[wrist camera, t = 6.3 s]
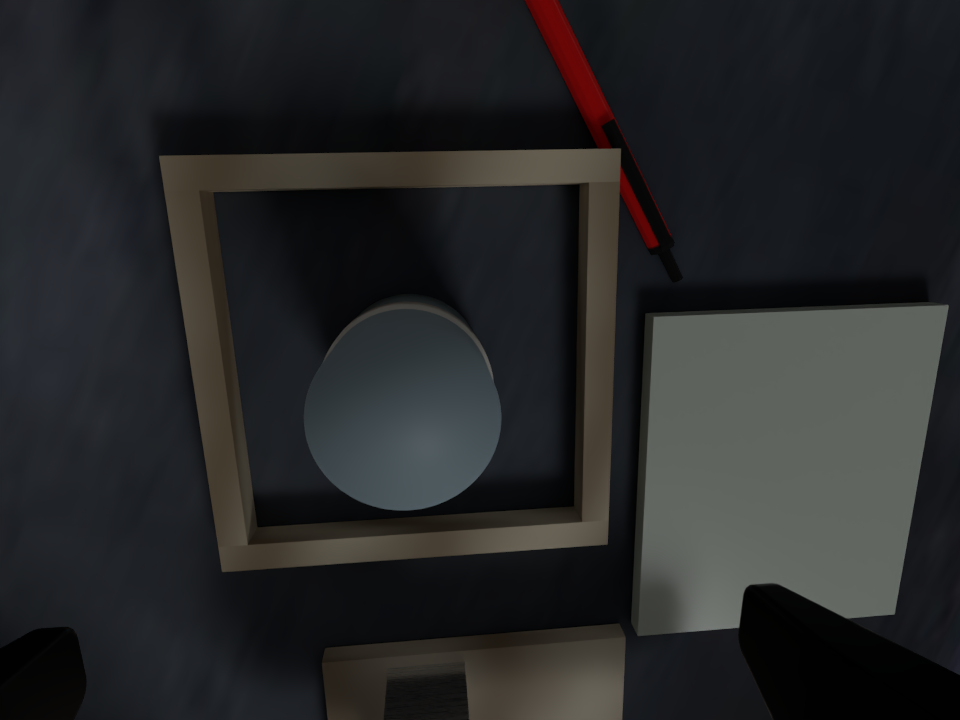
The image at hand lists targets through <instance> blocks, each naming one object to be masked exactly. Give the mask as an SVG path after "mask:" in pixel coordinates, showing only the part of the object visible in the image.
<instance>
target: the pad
mask: <svg viewBox="0 0 960 720" xmlns="http://www.w3.org/2000/svg"><path fill="white" fill-rule="evenodd" d="M948 307H949V305H945V304H939V303H933V302H918V303H892V304H867V305H841V306H816V307H791V308H765V309H740V310H714V311H689V312H663V313H645V333H644V354H643V376H642V397H641V419H640V440H639V462H638V483H637V505H636V526H635V548H634V569H633V591H632V612H631V623H632V625H633V627H634V629H635V631H636V633H637V635H638V636H645V635H656V634H668V633H680V632H692V631H703V630H715V629H727V628H739V624H740V616H741V608H742V600H743V594H744V591H745V589H746V587H747V586H749V585H751V584H765V583H776V584H779V585H781V586H783V587H785V588H787V589H789V590H791V591H793V592H795V593H797V594H799V595H801V596H803V597H805V598H807V599H809V600H811V601H813V602H815V603H817V604H819V605H821V606H823V607H825V608H827V609H829V610H831V611H833V612H835V613H837V614H839V615H841V616H843V617H845V618H856V617H868V616H880V615H892V614H895V608H896V602H897V597H898V591H899V585H900V580H901V574H902V568H903V563H904V557H905V551H906V545H907V540H908V534H909V528H910V523H911V517H912V511H913V506H914V500H915V494H916V489H917V483H918V477H919V472H920V466H921V460H922V454H923V449H924V443H925V437H926V432H927V426H928V420H929V415H930V409H931V403H932V398H933V392H934V386H935V381H936V375H937V369H938V363H939V358H940V352H941V346H942V341H943V335H944V329H945V324H946V318H947V312H948Z"/></svg>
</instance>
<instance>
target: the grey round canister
mask: <svg viewBox="0 0 960 720" xmlns="http://www.w3.org/2000/svg"><path fill="white" fill-rule="evenodd" d="M304 429H305V434H306V439H307V443H308V446H309V449H310V451H311V453H312V456H313V458H314V460H315V462H316V463H317V465H318V466H319V468H320V469H321V471H322V472H323V473H324V474H325V476H326V477H327V478H328V479H329V480H330V481H331V482H332V483H333V484H334V485H335V486H336V487H338V488H339V489H340V490H341V491H343V492H344V493H346V494H347V495H349V496H350V497H352V498H354V499H356V500H358V501H360V502H362V503H365V504H368V505H371V506H374V507H378V508H382V509H389V510H416V509H423V508H427V507H431V506H435V505H437V504H440V503H443V502H445V501H447V500H449V499H451V498H453V497H455V496H456V495H458V494H459V493H461V492H462V491H464V490H465V489H466V488H468V487H469V486H470V485H471V484H472V483H473V482H474V481H475V480H476V479H477V478H478V477H479V476H480V475H481V473H482V472H483V471H484V469H485V468H486V466H487V465H488V463H489V462H490V460H491V458H492V456H493V454H494V452H495V449H496V446H497V443H498V440H499V435H500V429H501V407H500V401H499V396H498V392H497V390H496V387H495V384H494V382H493V374H492V370H491V366H490V363H489V361H488V358H487V355H486V353H485V351H484V349H483V347H482V345H481V343H480V341H479V340H478V338H477V337H476V335H475V334H474V333H473V331H472V329H471V327H470V326H469V324H468V323H467V321H466V320H465V319H464V318H463V317H462V316H461V315H460V314H459V313H458V312H457V311H456V310H455V309H453V308H452V307H451V306H449V305H447V304H446V303H444V302H442V301H440V300H438V299H435V298H432V297H429V296H426V295H419V294H400V295H394V296H390V297H387V298H384V299H381V300H379V301H377V302H375V303H373V304H371V305H370V306H369V307H367V308H366V309H364V310H363V311H362V312H361V313H360V314H359V315H358V316H357V317H356V318H355V319H354V320H353V321H352V322H350V323H349V324H348V325H347V326H346V327H345V328H344V329H343V331H342V332H341V333H340V334H339V336H338V337H337V338H336V339H335V341H334V342H333V344H332V345H331V347H330V349H329V350H328V352H327V354H326V357H325V359H324V361H323V363H322V365H321V366H320V368H319V369H318V371H317V373H316V374H315V376H314V378H313V380H312V382H311V385H310V387H309V390H308V393H307V397H306V401H305V408H304Z"/></svg>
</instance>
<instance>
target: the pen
mask: <svg viewBox="0 0 960 720" xmlns="http://www.w3.org/2000/svg"><path fill="white" fill-rule="evenodd" d="M525 2H526V4H527V6H528V8H529V10H530V12H531V14H532V16H533V18H534V20H535V22H536V24H537V26H538V28H539V30H540V32H541V34H542V36H543V38H544V40H545V42H546V44H547V46H548V48H549V50H550V52H551V54H552V56H553V58H554V60H555V62H556V64H557V66H558V68H559V71H560V73H561V75H562V77H563V79H564V81H565V83H566V85H567V87H568V89H569V91H570V93H571V95H572V97H573V99H574V101H575V103H576V105H577V107H578V109H579V111H580V113H581V115H582V117H583V119H584V121H585V123H586V125H587V127H588V129H589V131H590V133H591V135H592V137H593V139H594V141H595V143H596V145H597V147H598V149H621V165H620V193H621V195H622V197H623V199H624V201H625V203H626V206H627V208H628V210H629V212H630V214H631V216H632V218H633V220H634V222H635V224H636V226H637V228H638V230H639V232H640V234H641V236H642V238H643V240H644V242H645V244H646V246H647V248H648V250H649V252H650V254H651V255H655V254H659V256H660V258H661V260H662V262H663V264H664V266H665V268H666V270H667V272H668V274H669V276H670V278H671V280H672V282H677V281H679V280H681V279H682V278H683V277H682V275H681V272H680V270H679V268H678V266H677V264H676V262H675V260H674V258H673V256H672V254H671V251H670V248H672V247H673V246H674V243H675V242H674V240H673V238H672V236H671V234H670V232H669V230H668V228H667V226H666V224H665V222H664V220H663V217H662V215H661V213H660V211H659V209H658V207H657V205H656V203H655V201H654V199H653V197H652V195H651V193H650V190H649V188H648V186H647V184H646V182H645V180H644V178H643V176H642V174H641V172H640V170H639V168H638V166H637V163H636V161H635V159H634V157H633V155H632V153H631V151H630V149H629V147H628V145H627V143H626V141H625V139H624V136H623V134H622V132H621V130H620V128H619V126H618V124H617V122H616V120H615V118H614V116H613V114H612V112H611V109H610V107H609V105H608V103H607V101H606V99H605V97H604V95H603V93H602V91H601V89H600V87H599V85H598V82H597V80H596V78H595V76H594V74H593V72H592V70H591V68H590V66H589V64H588V62H587V60H586V58H585V55H584V53H583V51H582V49H581V47H580V45H579V43H578V41H577V39H576V37H575V35H574V33H573V31H572V28H571V26H570V24H569V22H568V20H567V18H566V16H565V14H564V12H563V10H562V8H561V6H560V4H559V1H558V0H525Z"/></svg>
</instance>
